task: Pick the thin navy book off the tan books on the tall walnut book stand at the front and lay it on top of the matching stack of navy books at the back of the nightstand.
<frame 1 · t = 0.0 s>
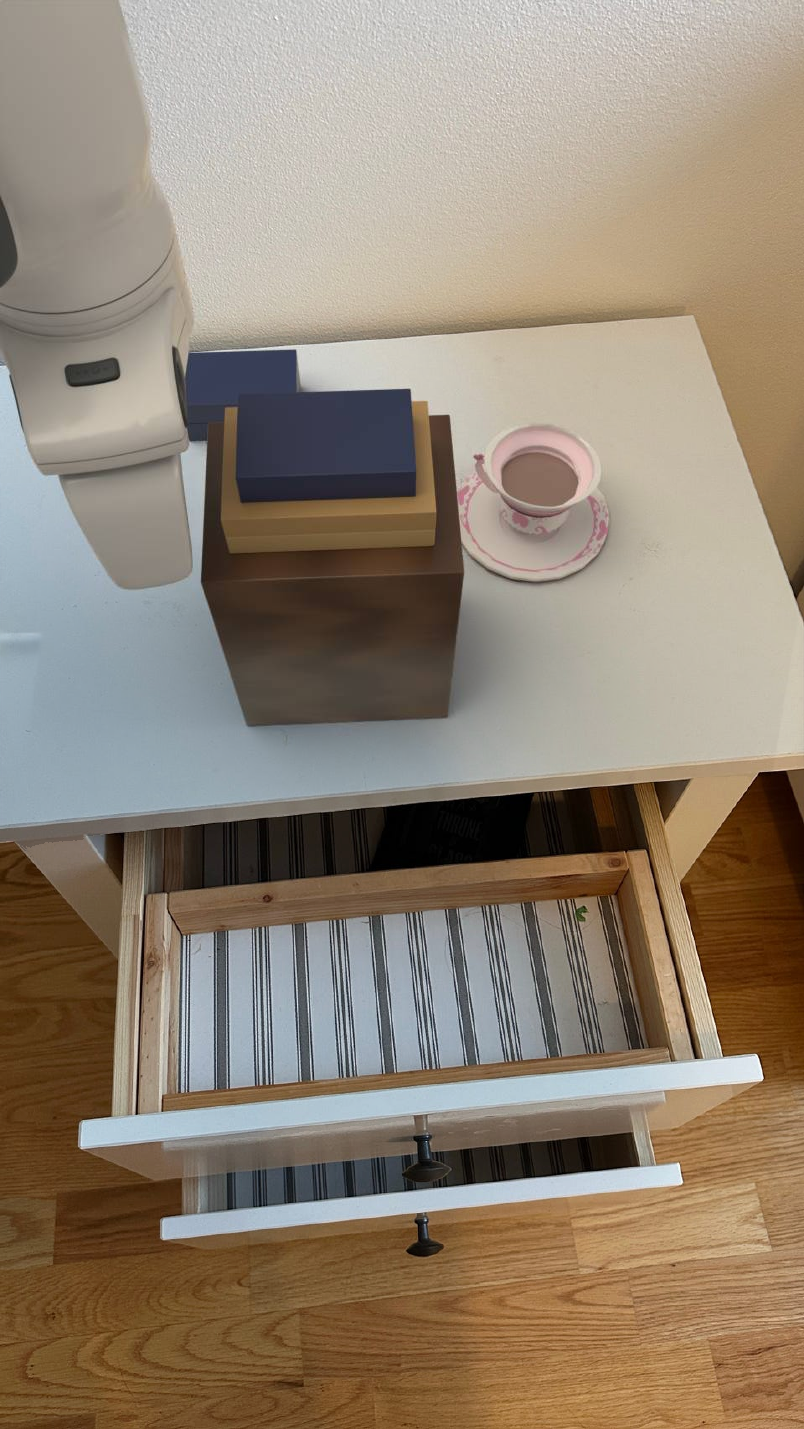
hand: (156, 494, 56), 17 cm above the table, tool pointing down, fingers open, 8 cm apart
tan books: (330, 494, 54), point 18 cm above the table, touching book stand, navy book
teacup: (529, 520, 76), on the table
navy books: (245, 413, 80), on the table
book stand: (345, 653, 70), on the table
navy book: (327, 458, 51), point 21 cm above the table, touching tan books
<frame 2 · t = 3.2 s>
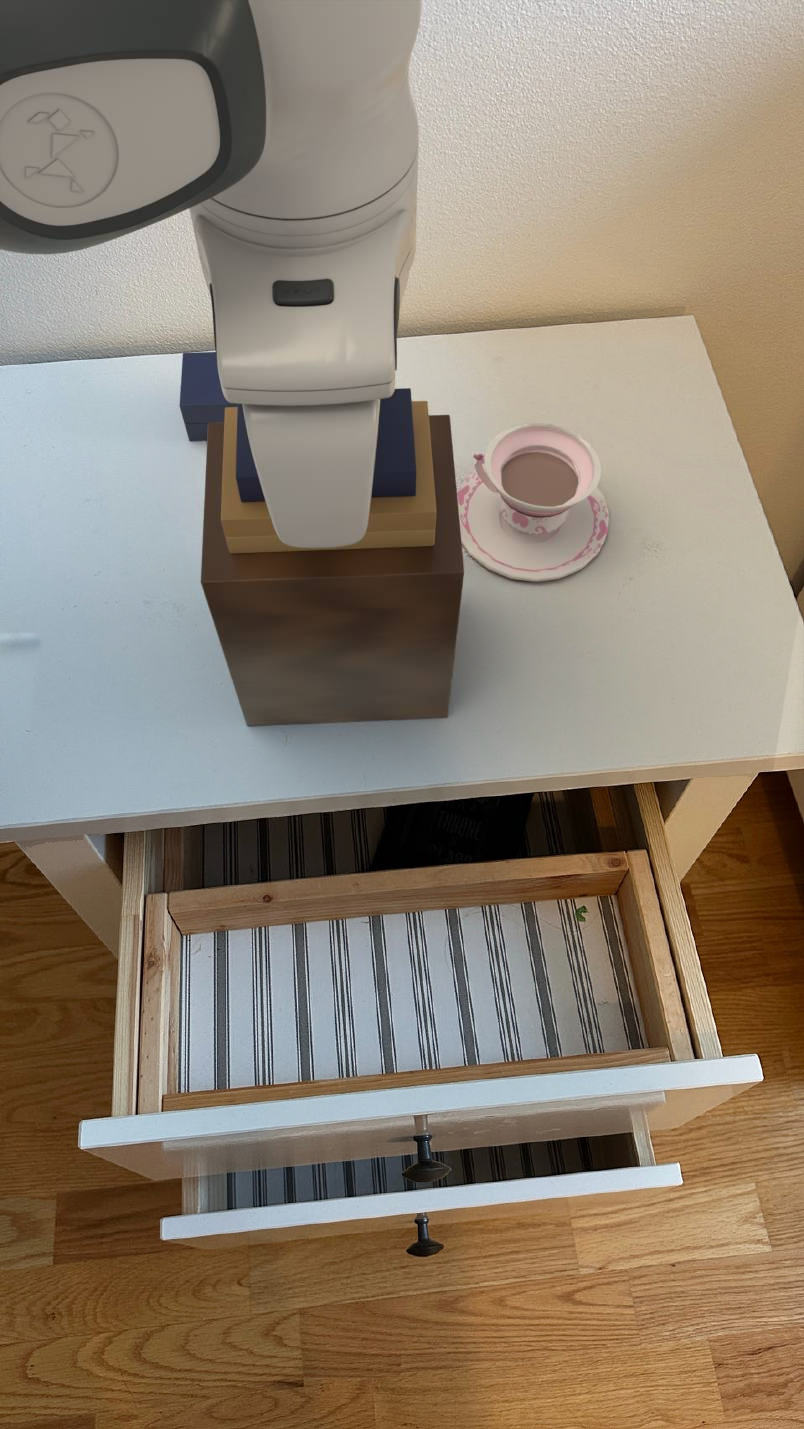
hand: (326, 449, 51), 22 cm above the table, tool pointing down, fingers closed on navy book, 5 cm apart
navy book: (327, 457, 52), point 21 cm above the table, touching gripper, tan books
everything else where it was.
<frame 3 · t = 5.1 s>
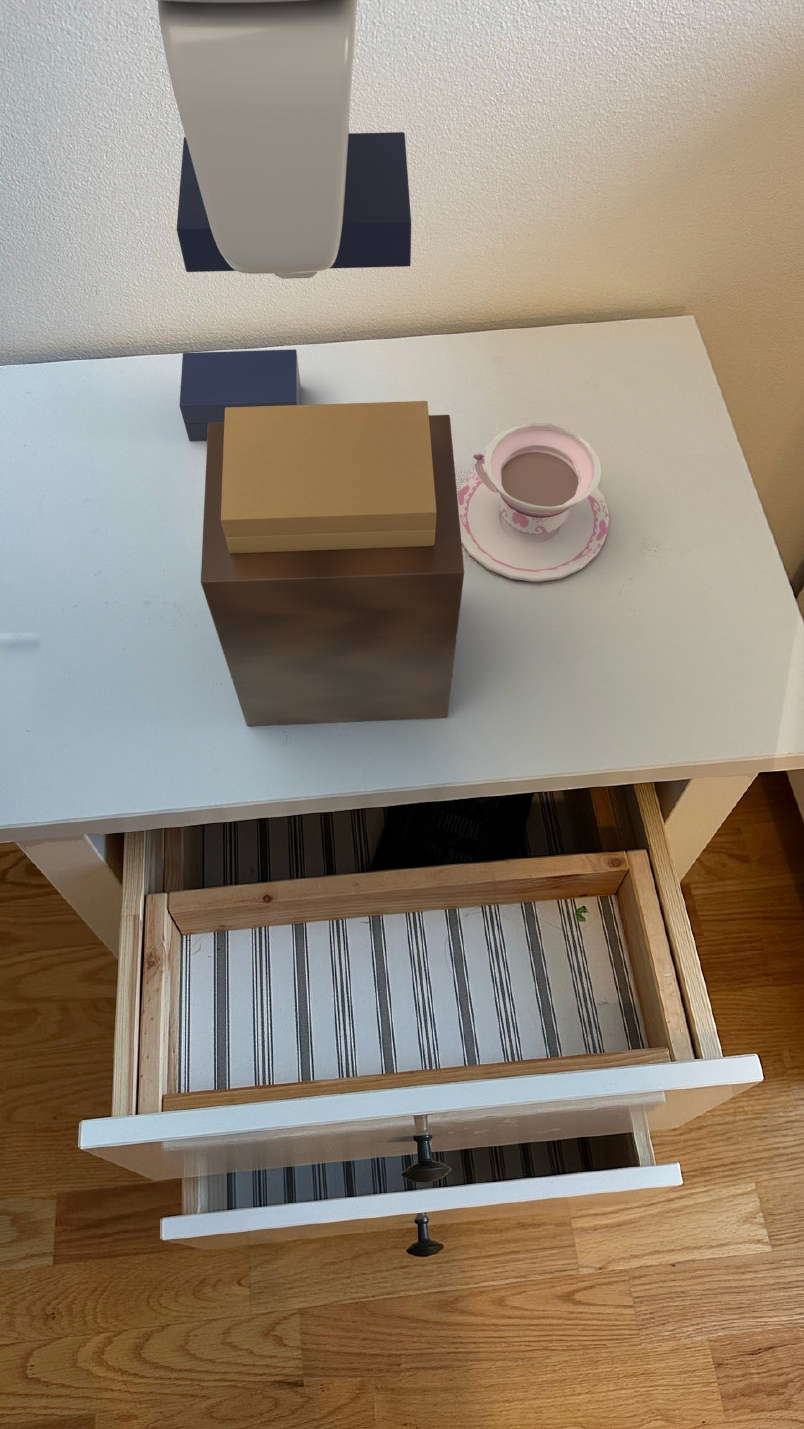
hand: (296, 207, 40), 35 cm above the table, tool pointing down, fingers closed on navy book, 5 cm apart
tan books: (330, 494, 54), point 18 cm above the table, touching book stand
navy book: (298, 223, 40), point 34 cm above the table, touching gripper
everything else where it was.
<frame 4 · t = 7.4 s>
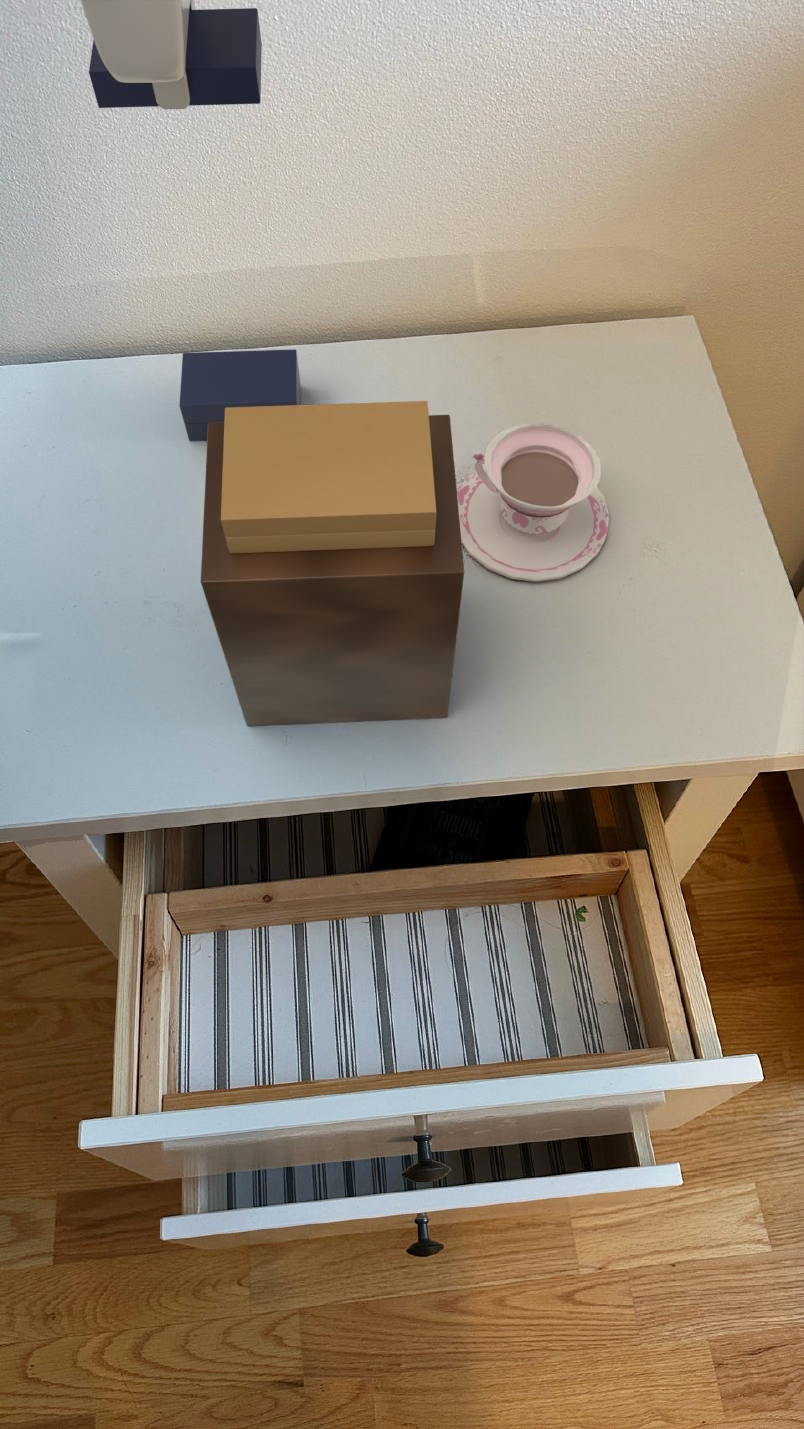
hand: (178, 63, 55), 28 cm above the table, tool pointing down, fingers closed on navy book, 5 cm apart
navy book: (182, 76, 56), point 27 cm above the table, touching gripper
everything else where it was.
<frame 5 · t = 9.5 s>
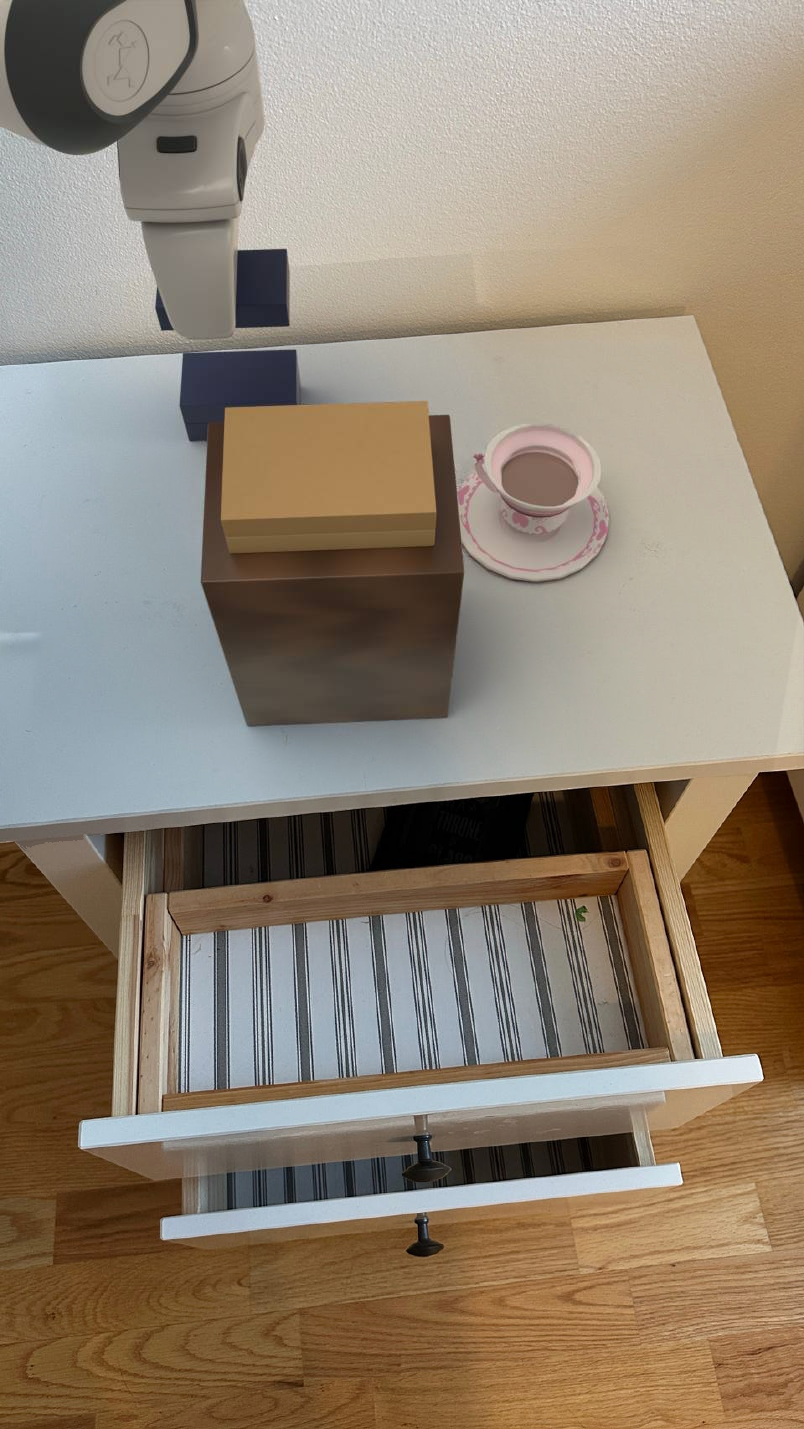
hand: (223, 293, 69), 12 cm above the table, tool pointing down, fingers closed on navy book, 5 cm apart
navy book: (226, 301, 70), point 11 cm above the table, touching gripper
everything else where it was.
when the fingers open (5 cm above the table, at t = 11.7 s): navy book stays where it is, resting on navy books.
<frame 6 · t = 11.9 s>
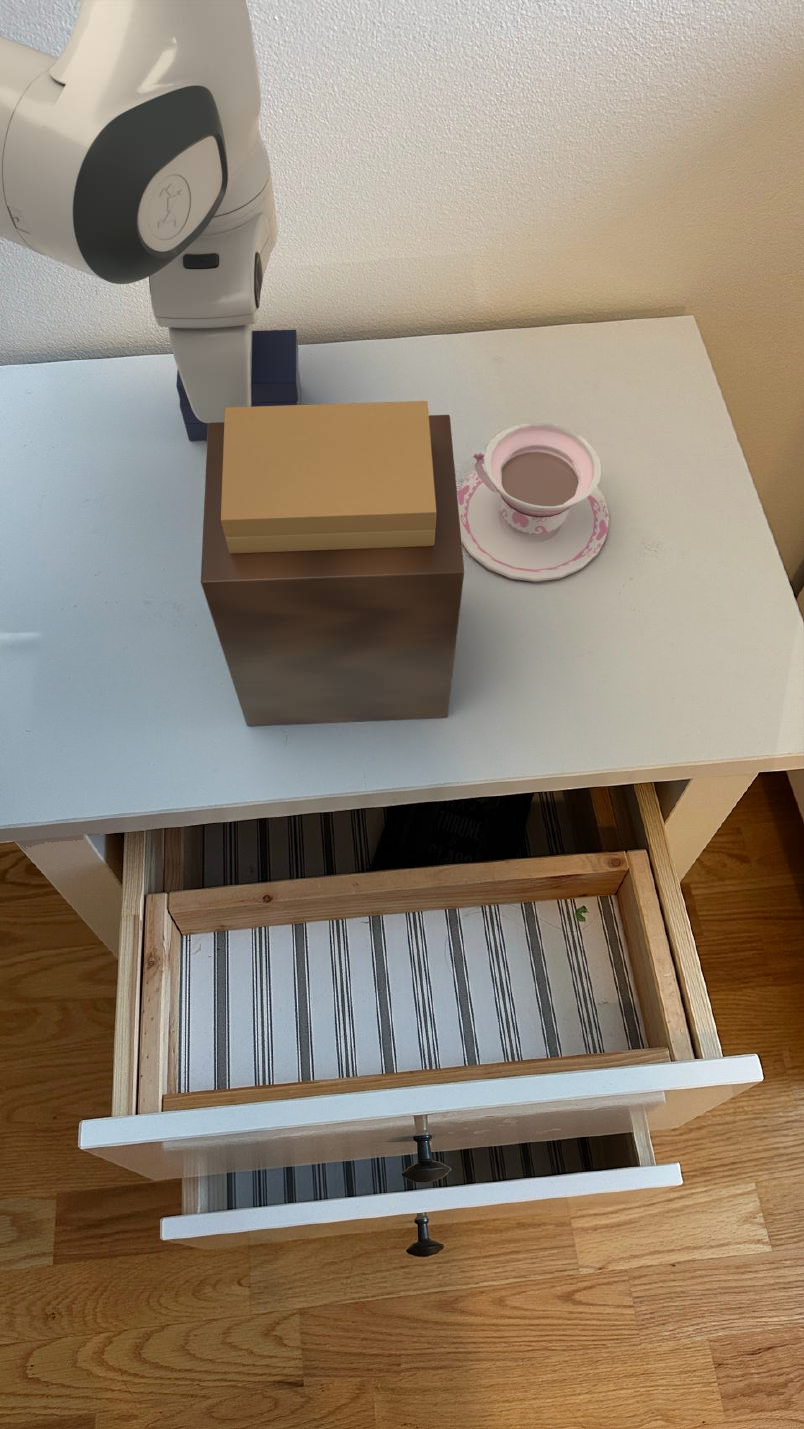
hand: (238, 372, 76), 4 cm above the table, tool pointing down, fingers open, 7 cm apart
navy books: (245, 413, 80), on the table, touching navy book
navy book: (240, 376, 76), point 4 cm above the table, touching navy books
everything else where it was.
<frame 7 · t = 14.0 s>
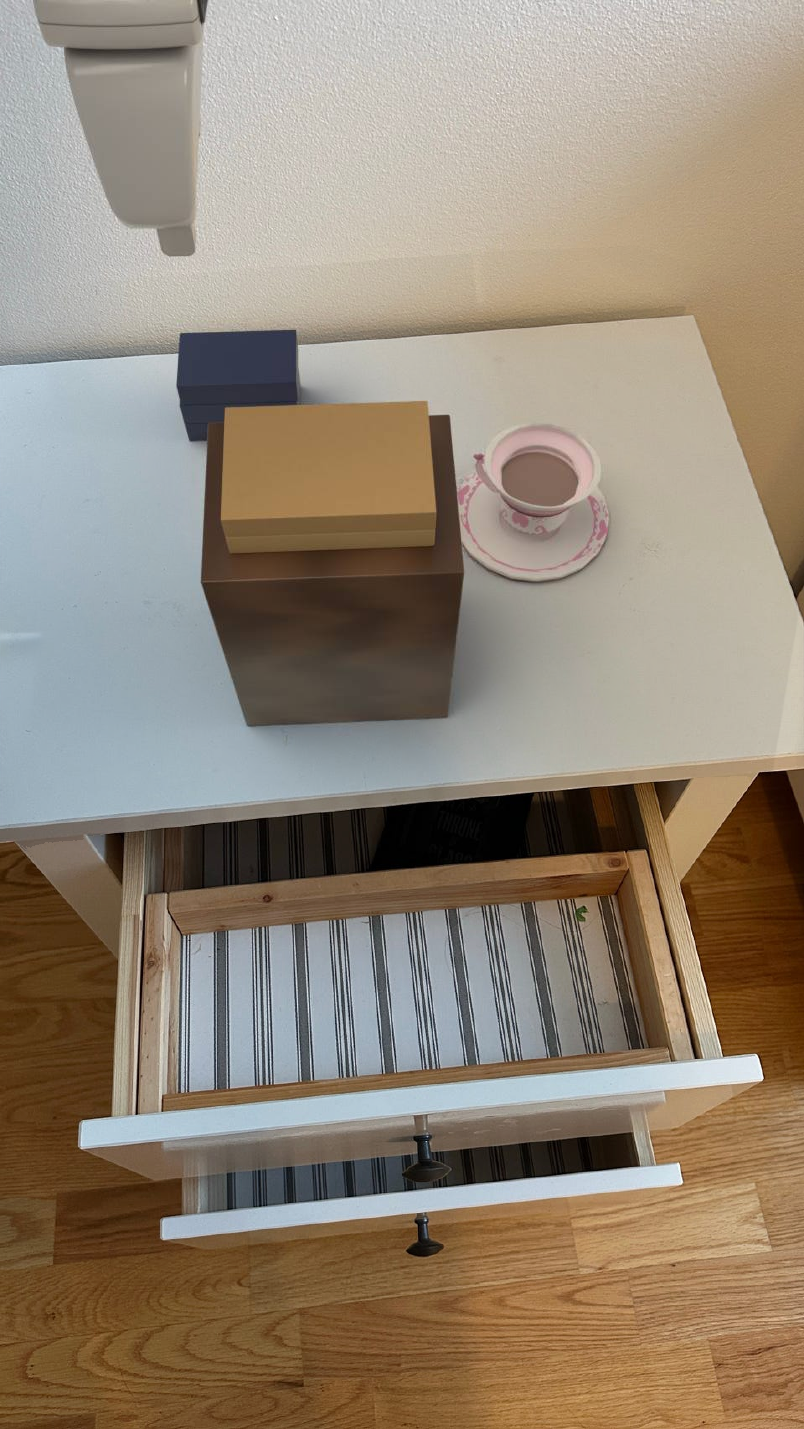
hand: (183, 189, 54), 25 cm above the table, tool pointing down, fingers open, 8 cm apart
nothing on the table moved.
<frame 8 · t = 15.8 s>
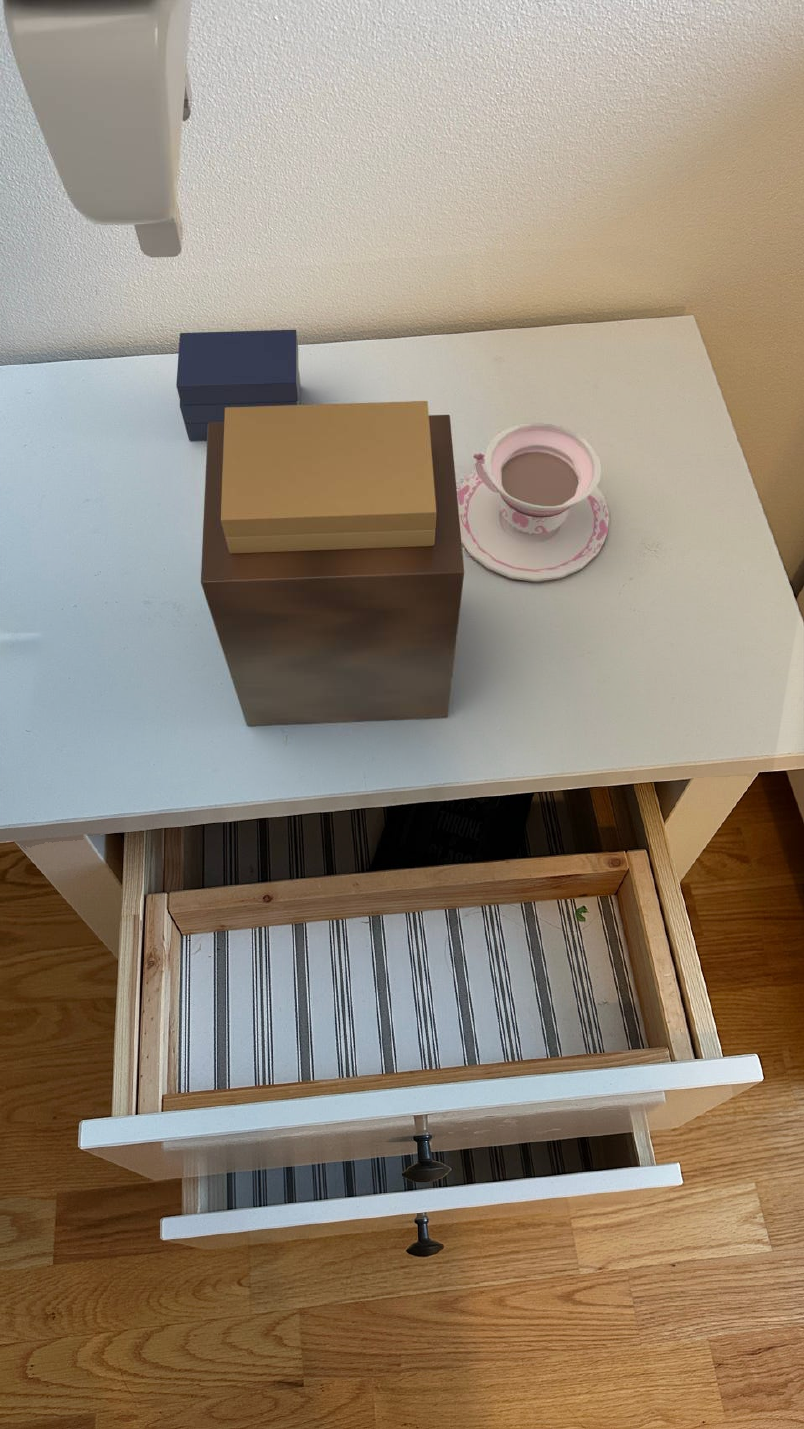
hand: (169, 176, 46), 31 cm above the table, tool pointing down, fingers open, 8 cm apart
nothing on the table moved.
at the end: navy book 0.1 cm off-centre on the navy books, point 4.0 cm above the navy books's base; navy book touching navy books; navy book tilted 0° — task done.
